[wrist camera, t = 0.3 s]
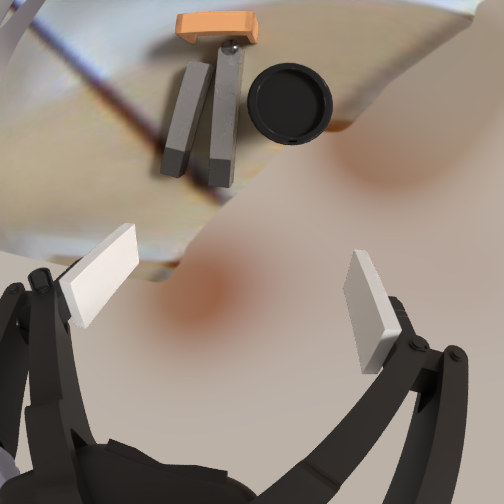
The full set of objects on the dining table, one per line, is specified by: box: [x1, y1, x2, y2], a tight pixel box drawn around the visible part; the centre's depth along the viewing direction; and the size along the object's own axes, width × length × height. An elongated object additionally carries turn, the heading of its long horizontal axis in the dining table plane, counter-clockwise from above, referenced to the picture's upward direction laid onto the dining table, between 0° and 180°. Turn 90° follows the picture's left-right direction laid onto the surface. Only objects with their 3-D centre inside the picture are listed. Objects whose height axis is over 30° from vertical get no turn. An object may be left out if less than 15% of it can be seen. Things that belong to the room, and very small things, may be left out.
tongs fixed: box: [208, 40, 245, 188], centre depth 35 cm, size 21×3×3 cm, turn 175°
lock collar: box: [175, 11, 259, 44], centre depth 28 cm, size 3×10×6 cm, turn 85°
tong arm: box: [160, 61, 215, 178], centre depth 36 cm, size 17×3×3 cm, turn 163°
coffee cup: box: [247, 63, 333, 145], centre depth 29 cm, size 8×8×15 cm
